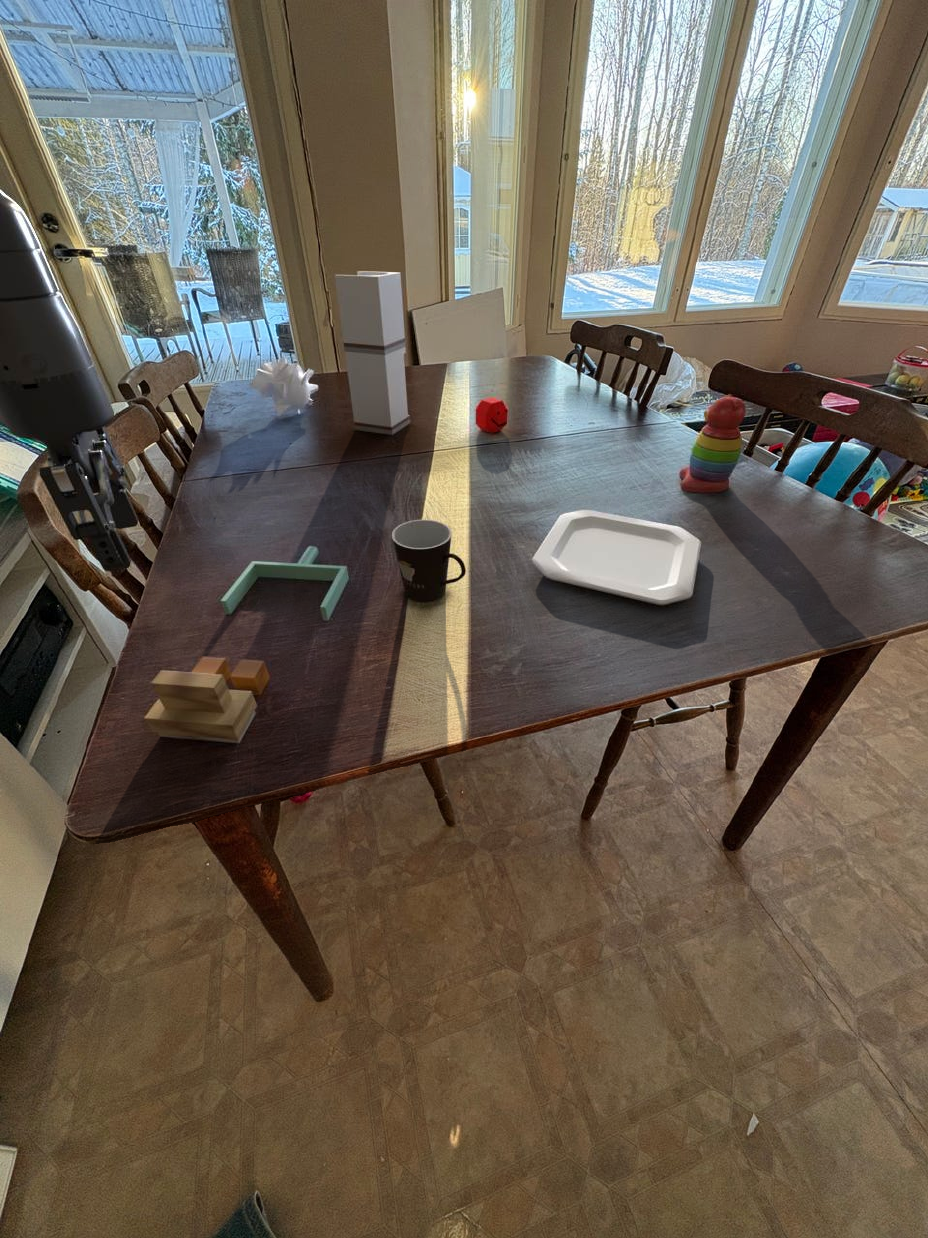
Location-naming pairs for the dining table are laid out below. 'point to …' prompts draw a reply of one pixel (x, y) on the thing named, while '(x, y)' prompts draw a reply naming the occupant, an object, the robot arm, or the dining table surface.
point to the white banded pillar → (374, 349)
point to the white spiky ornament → (284, 385)
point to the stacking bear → (715, 448)
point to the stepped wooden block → (199, 707)
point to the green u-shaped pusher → (291, 571)
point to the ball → (491, 415)
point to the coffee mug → (424, 558)
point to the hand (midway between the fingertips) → (123, 545)
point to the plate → (621, 556)
